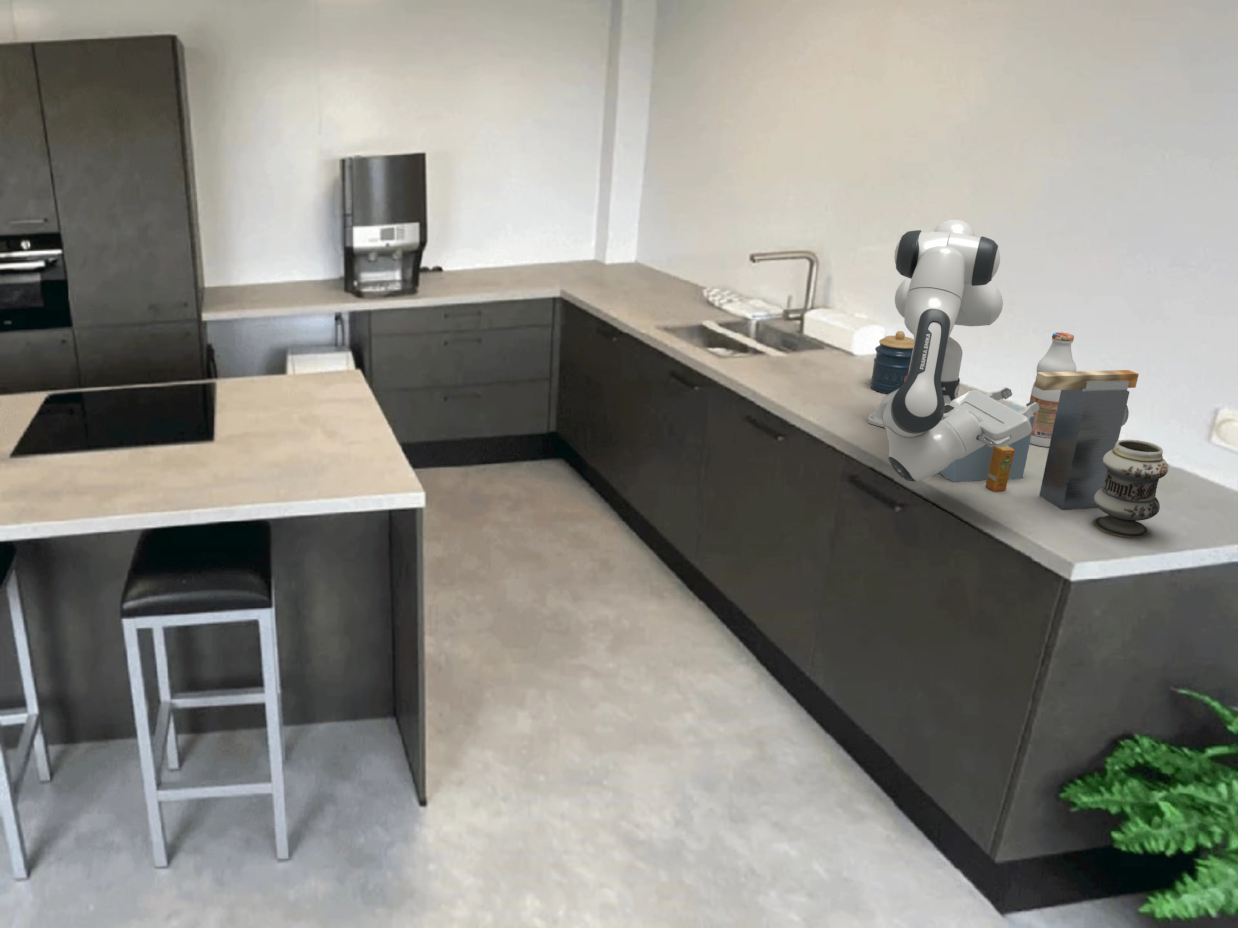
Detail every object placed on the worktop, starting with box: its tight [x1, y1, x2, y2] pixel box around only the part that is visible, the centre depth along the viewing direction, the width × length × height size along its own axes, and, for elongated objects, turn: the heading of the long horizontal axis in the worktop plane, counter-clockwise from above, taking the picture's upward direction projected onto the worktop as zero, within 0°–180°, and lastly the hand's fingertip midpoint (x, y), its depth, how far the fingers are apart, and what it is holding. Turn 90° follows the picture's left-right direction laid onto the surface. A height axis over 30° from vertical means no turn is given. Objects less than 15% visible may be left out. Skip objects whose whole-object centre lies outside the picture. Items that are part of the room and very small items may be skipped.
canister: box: [870, 330, 914, 395], centre depth 290 cm, size 13×13×18 cm
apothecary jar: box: [1094, 439, 1169, 539], centre depth 200 cm, size 12×12×18 cm
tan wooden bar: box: [1034, 369, 1139, 391], centre depth 205 cm, size 22×3×3 cm, turn 103°
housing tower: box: [1039, 380, 1130, 511], centre depth 211 cm, size 12×8×28 cm, turn 103°
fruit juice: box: [1028, 332, 1077, 448], centre depth 248 cm, size 9×9×28 cm
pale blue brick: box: [938, 405, 1035, 483], centre depth 226 cm, size 18×8×15 cm, turn 103°
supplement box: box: [985, 445, 1015, 492], centre depth 219 cm, size 3×3×10 cm
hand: (1023, 397), depth 203 cm, fingers open, 8 cm apart
